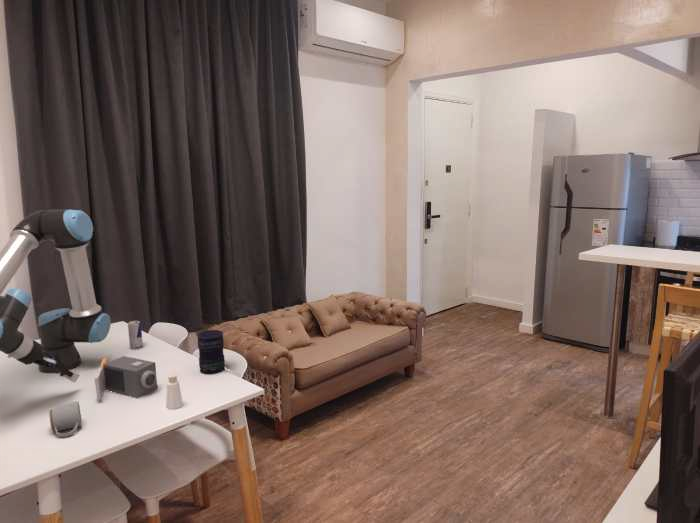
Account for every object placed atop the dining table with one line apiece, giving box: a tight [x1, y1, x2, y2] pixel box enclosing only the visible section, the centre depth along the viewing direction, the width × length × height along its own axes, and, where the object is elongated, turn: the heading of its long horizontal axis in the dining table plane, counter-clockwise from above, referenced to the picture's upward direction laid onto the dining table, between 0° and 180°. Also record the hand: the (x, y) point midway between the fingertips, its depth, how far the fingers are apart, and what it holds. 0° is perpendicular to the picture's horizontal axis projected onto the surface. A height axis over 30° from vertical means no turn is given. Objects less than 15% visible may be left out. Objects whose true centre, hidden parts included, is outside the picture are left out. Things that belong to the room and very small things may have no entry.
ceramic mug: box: [48, 400, 83, 438], centre depth 154 cm, size 11×8×8 cm
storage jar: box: [197, 329, 226, 375], centre depth 199 cm, size 10×10×15 cm
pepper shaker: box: [165, 373, 184, 410], centre depth 169 cm, size 5×5×11 cm
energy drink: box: [127, 320, 144, 350], centre depth 225 cm, size 5×5×12 cm
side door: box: [94, 357, 108, 401], centre depth 181 cm, size 21×1×8 cm, turn 18°
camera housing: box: [103, 355, 158, 399], centre depth 182 cm, size 18×9×11 cm, turn 65°
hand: (76, 378), depth 181 cm, fingers closed
